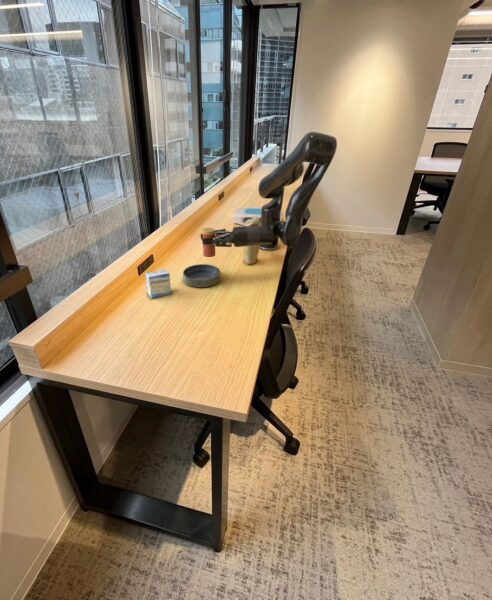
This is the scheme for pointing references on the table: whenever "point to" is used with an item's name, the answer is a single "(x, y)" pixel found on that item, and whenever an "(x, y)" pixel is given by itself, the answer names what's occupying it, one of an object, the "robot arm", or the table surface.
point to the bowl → (201, 275)
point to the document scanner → (248, 214)
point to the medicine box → (158, 283)
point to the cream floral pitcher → (251, 251)
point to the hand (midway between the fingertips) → (201, 239)
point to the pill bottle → (210, 248)
